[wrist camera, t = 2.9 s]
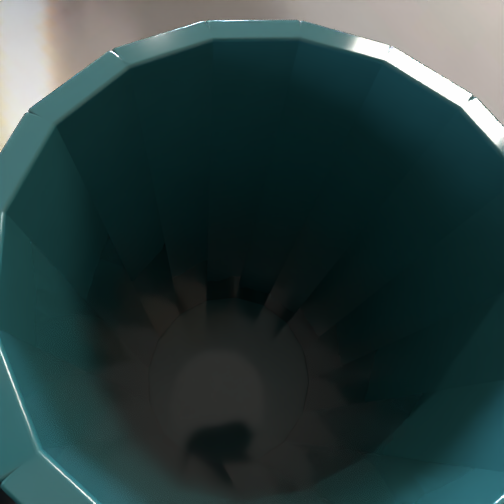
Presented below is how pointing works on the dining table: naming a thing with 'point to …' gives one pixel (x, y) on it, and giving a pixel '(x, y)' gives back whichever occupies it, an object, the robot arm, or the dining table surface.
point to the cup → (253, 277)
